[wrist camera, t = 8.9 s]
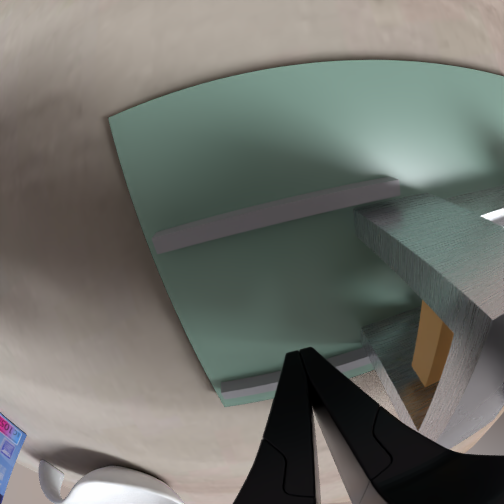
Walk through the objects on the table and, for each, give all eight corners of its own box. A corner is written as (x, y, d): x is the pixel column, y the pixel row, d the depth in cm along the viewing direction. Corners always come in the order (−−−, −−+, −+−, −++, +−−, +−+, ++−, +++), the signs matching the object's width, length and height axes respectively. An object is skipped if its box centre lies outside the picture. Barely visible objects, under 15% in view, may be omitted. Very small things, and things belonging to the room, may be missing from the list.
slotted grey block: (508, 183, 10) (547, 199, 7) (497, 278, 12) (527, 302, 9) (437, 199, 10) (484, 221, 7) (431, 310, 12) (461, 345, 10)
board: (509, 81, 8) (528, 81, 7) (504, 295, 14) (517, 306, 13) (118, 119, 9) (99, 117, 7) (224, 393, 15) (224, 416, 13)
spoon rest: (140, 451, 19) (129, 517, 12) (206, 490, 23) (206, 540, 17) (24, 444, 21) (10, 480, 14) (80, 483, 26) (73, 517, 19)
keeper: (426, 192, 10) (566, 265, 3) (420, 321, 13) (493, 419, 6) (352, 208, 10) (493, 320, 3) (360, 343, 13) (420, 464, 6)
